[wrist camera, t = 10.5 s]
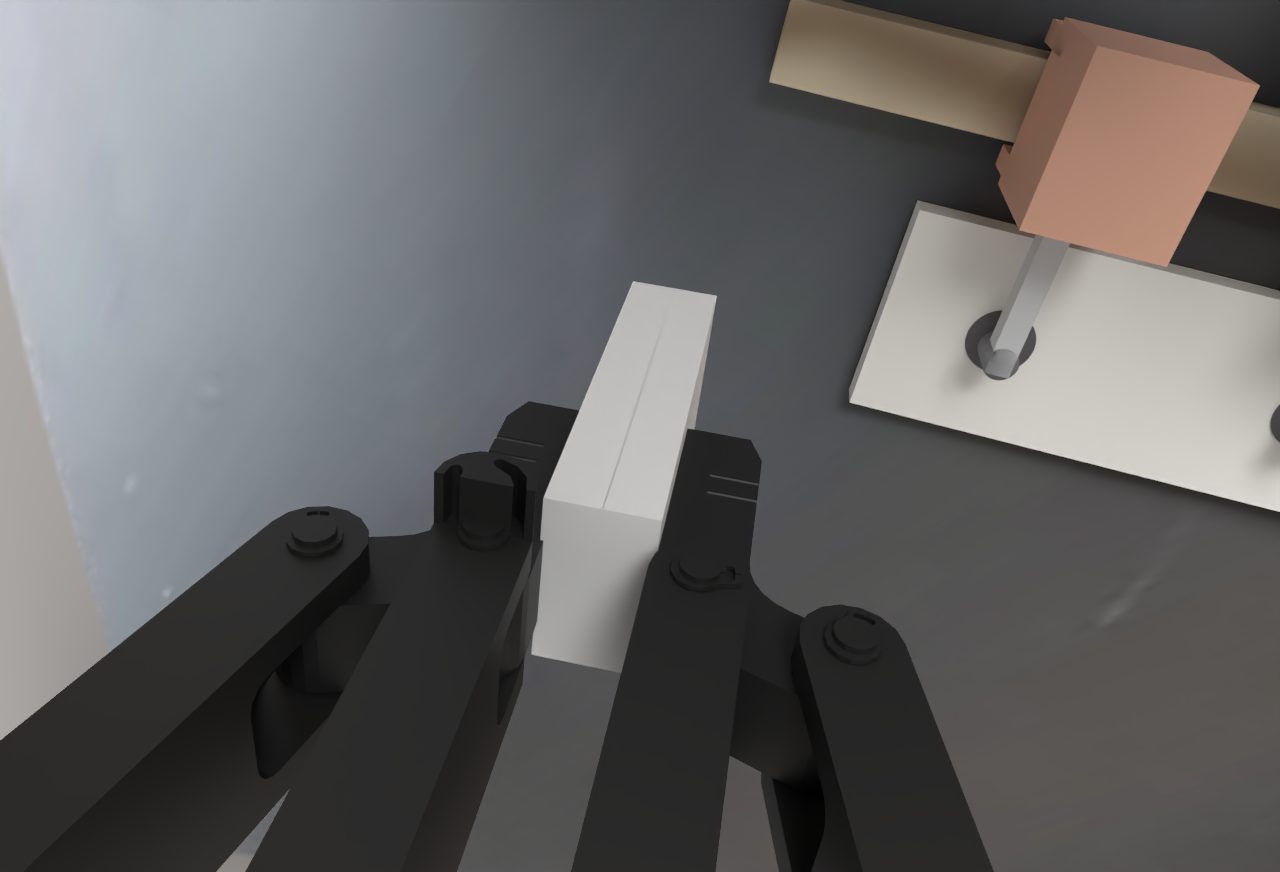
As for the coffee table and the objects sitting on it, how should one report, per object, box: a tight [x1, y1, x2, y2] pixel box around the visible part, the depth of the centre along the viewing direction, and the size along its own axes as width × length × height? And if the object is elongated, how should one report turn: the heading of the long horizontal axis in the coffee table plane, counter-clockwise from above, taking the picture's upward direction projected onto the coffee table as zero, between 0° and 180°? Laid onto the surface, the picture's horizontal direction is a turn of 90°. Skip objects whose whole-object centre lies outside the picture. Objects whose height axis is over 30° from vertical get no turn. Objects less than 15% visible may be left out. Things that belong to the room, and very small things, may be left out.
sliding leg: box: [977, 17, 1260, 380], centre depth 38 cm, size 13×5×6 cm, turn 168°
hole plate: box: [849, 200, 1280, 512], centre depth 43 cm, size 9×22×1 cm, turn 78°
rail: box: [769, 0, 1280, 209], centre depth 38 cm, size 13×29×7 cm, turn 78°
